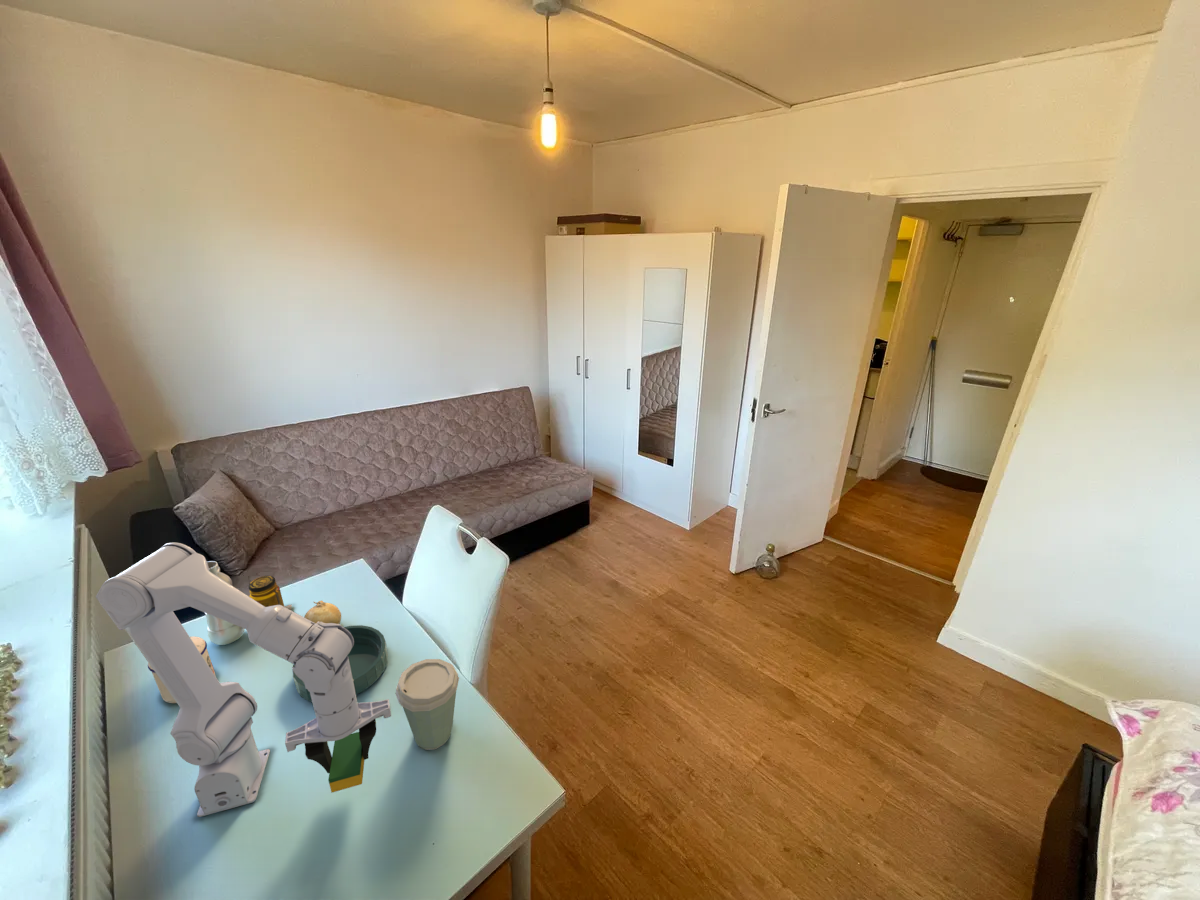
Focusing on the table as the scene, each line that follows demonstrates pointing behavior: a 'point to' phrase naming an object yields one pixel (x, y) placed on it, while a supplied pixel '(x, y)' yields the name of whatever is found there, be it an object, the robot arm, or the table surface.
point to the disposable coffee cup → (429, 700)
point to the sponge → (346, 763)
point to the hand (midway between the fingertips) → (348, 760)
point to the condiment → (266, 592)
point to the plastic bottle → (219, 628)
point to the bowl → (360, 659)
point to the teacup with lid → (202, 649)
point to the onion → (324, 613)
